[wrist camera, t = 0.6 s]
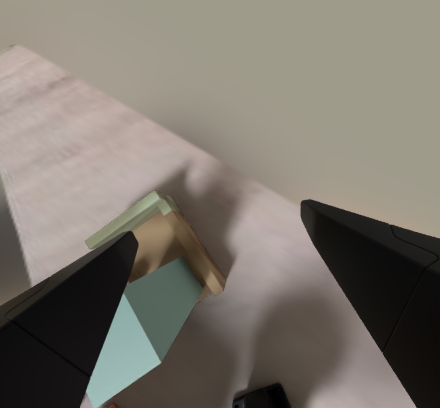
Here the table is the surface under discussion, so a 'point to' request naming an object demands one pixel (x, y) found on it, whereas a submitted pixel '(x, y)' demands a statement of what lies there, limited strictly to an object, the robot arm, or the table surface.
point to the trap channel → (162, 241)
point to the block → (144, 328)
